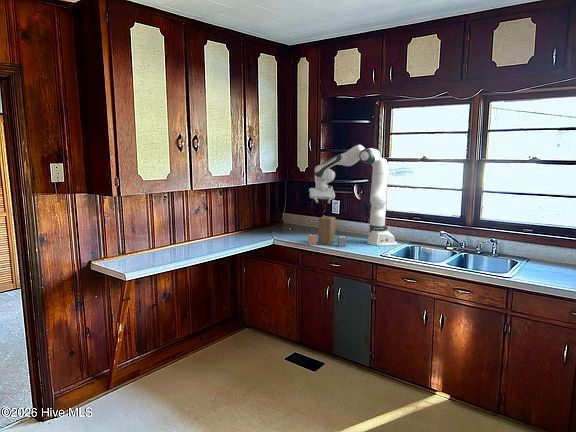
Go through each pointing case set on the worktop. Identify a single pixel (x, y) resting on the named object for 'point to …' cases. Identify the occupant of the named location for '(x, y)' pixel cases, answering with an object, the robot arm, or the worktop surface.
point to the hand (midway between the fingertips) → (323, 202)
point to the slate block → (341, 241)
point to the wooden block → (326, 230)
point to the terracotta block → (312, 239)
